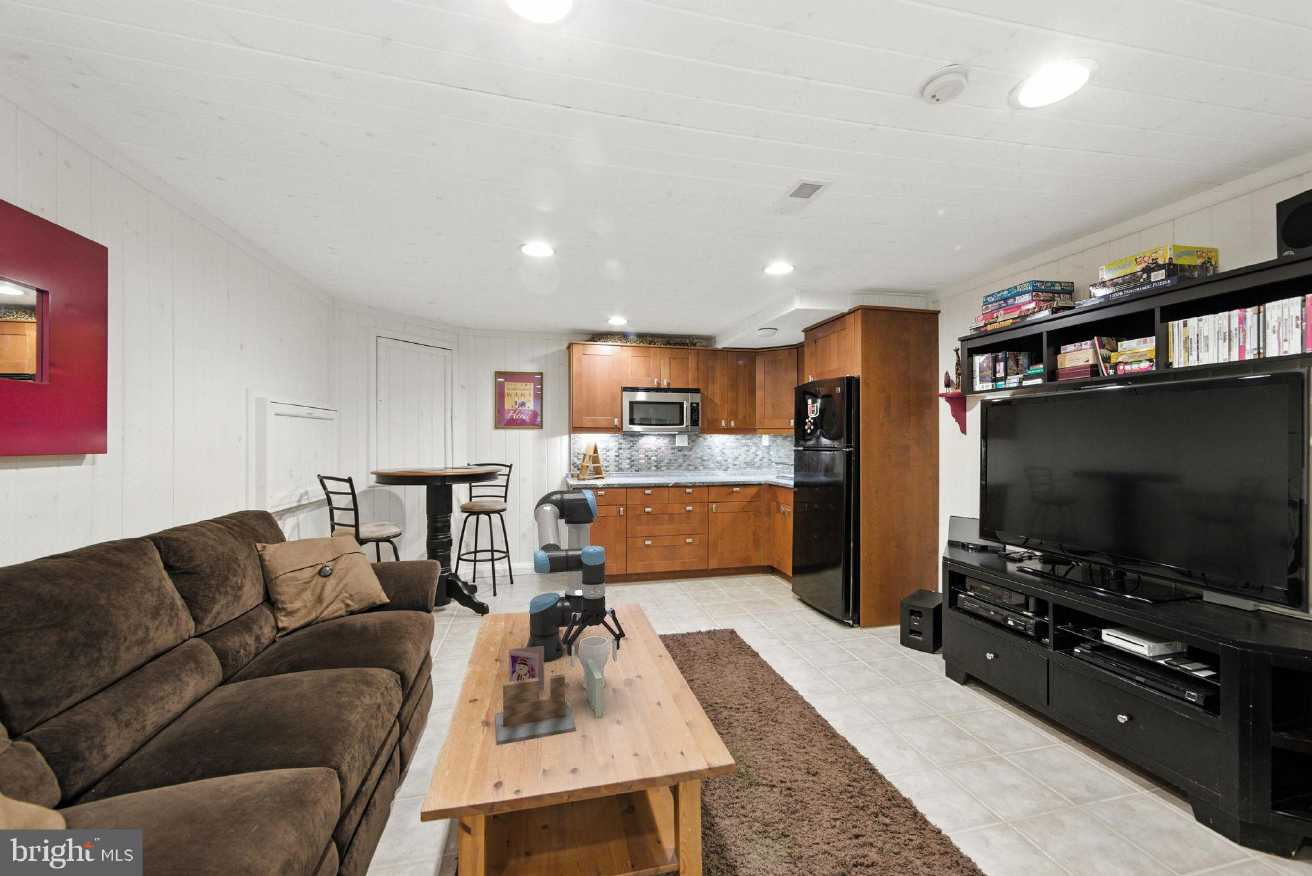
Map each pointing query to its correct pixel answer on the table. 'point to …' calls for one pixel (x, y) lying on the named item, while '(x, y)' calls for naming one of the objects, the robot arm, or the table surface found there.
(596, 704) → the sage plate
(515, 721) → the wood panel stand
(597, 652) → the cup
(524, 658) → the greeting card
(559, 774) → the table surface
